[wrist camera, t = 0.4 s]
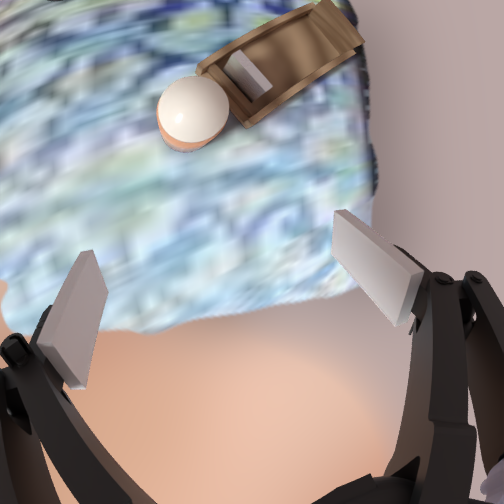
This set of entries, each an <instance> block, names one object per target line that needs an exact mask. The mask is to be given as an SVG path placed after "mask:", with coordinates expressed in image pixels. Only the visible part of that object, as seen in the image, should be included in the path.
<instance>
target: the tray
mask: <svg viewBox="0 0 504 504" xmlns="http://www.w3.org/2000/svg"><path fill="white" fill-rule="evenodd" d="M363 43H365V41H364V39H363V38H362V37H361V36H360V34H359V33H358V32H357V30H356V29H355V28H354V27H353V25H352V24H351V23H350V22H349V21H348V19H347V18H346V17H345V16H344V15H343V14H342V12H341V11H340V10H339V9H338V8H337V7H336V6H335V5H334V3H333V2H332V1H331V0H321V1H320V2H319V3H318V4H317V5H315V4H314V3H313V2H312V3H309V4H307V5H304V6H302V7H300V8H297V9H295V10H293V11H290V12H288V13H286V14H284V15H282V16H280V17H278V18H275V19H273V20H271V21H269V22H267V23H265V24H263V25H262V26H260V27H258V28H256V29H254V30H252V31H250V32H248V33H247V34H245V35H243V36H241V37H240V38H238V39H236V40H234V41H233V42H231V43H229V44H228V45H226V46H225V47H223V48H221V49H220V50H218V51H217V52H215V53H213V54H212V55H210V56H209V57H207V58H206V59H204V60H203V61H201V62H200V63H198V65H197V68H196V72H195V73H196V74H197V75H198V76H201V77H205V78H208V79H211V80H213V81H214V82H216V83H217V84H218V85H219V86H220V87H221V88H222V89H223V90H224V92H225V93H226V95H227V98H228V101H229V110H230V111H231V112H232V113H233V114H234V116H235V117H236V118H237V119H238V120H239V121H240V122H241V124H242V125H243V126H244V127H245V128H246V129H247V128H249V127H251V126H253V125H255V124H256V123H257V122H258V121H260V120H261V119H262V118H263V117H265V116H266V115H267V114H269V113H270V112H271V111H273V110H274V109H275V108H276V107H278V106H279V105H280V104H282V103H283V102H285V101H286V100H287V99H289V98H290V97H291V96H293V95H294V94H296V93H297V92H298V91H300V90H301V89H303V88H304V87H305V86H307V85H308V84H310V83H311V82H313V81H314V80H316V79H317V78H319V77H320V76H321V75H323V74H324V73H326V72H328V71H329V70H331V69H332V68H334V67H335V66H337V65H338V64H340V63H341V62H343V61H345V60H346V59H348V58H349V57H351V56H353V55H354V54H356V53H355V51H354V50H353V48H355V47H357V46H359V45H361V44H363ZM238 50H241V51H242V52H243V53H244V54H245V55H246V57H247V58H248V59H249V60H250V61H251V62H252V63H253V64H254V65H255V66H256V67H257V69H258V70H259V71H260V72H261V73H262V74H263V75H264V76H265V78H266V79H267V80H268V81H269V82H270V83H271V85H272V86H273V87H272V88H271V89H269V90H268V91H267V92H265V93H264V94H263V95H261V96H260V97H259V98H257V99H256V100H255V101H253V102H252V103H251V102H250V101H249V100H248V99H247V98H246V97H245V96H244V94H243V93H242V92H241V91H240V90H239V89H238V88H237V87H236V86H235V84H234V83H233V82H232V81H231V80H230V79H229V78H228V77H227V76H226V75H225V74H224V72H223V71H222V70H223V69H224V67H225V65H226V64H227V62H228V60H229V58H230V57H231V55H232V54H233V53H235V52H237V51H238Z"/></svg>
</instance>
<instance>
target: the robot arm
mask: <svg viewBox="0 0 504 504" xmlns="http://www.w3.org/2000/svg"><path fill="white" fill-rule="evenodd" d="M48 1H61V0H48ZM331 254H332V255H333V257H334V258H335V259H336V260H337V261H338V262H339V263H340V264H341V265H342V266H343V268H344V269H345V270H346V271H347V272H348V273H349V274H350V275H351V276H352V278H353V279H354V280H355V281H356V282H357V283H358V284H359V286H360V287H361V288H362V289H363V290H364V291H365V292H366V293H367V295H368V296H369V297H370V298H371V299H372V300H373V302H374V303H375V304H376V305H377V306H378V307H379V309H380V310H381V311H382V312H383V313H384V315H386V317H387V318H388V319H389V321H390V322H391V323H392V324H393V325H394V326H398V325H401V324H403V323H406V322H407V321H408V319H409V316H410V313H411V312H412V313H413V314H414V315H415V316H416V317H415V319H414V322H413V325H412V327H411V330H410V332H409V335H411V333H412V332H413V339H412V352H411V362H410V371H409V379H408V387H407V394H406V400H405V406H404V411H403V416H402V422H401V426H400V431H399V436H398V440H397V444H396V448H395V452H394V454H393V457H392V459H391V460H390V462H389V464H388V466H387V468H386V470H385V473H384V476H382V477H374V478H372V476H371V474H368V475H366V476H363V477H361V478H359V479H357V480H355V481H352V482H350V483H347V484H345V485H342V486H340V487H337V488H336V489H334V490H333V491H331V492H330V493H328V494H327V495H325V496H323V497H322V498H321V499H318V500H317V501H315V502H313V503H312V504H504V307H503V305H502V304H501V302H500V300H499V298H498V297H497V295H496V293H495V292H494V290H493V288H492V287H491V285H490V284H489V282H488V280H487V279H486V278H485V277H484V276H483V275H482V274H481V273H479V272H477V271H468V272H466V273H465V276H464V279H463V280H459V281H454V279H453V278H452V277H451V276H449V275H448V274H446V273H443V272H433V273H432V272H431V271H429V270H428V269H427V268H426V267H425V266H423V265H422V264H421V263H420V262H418V261H417V260H415V258H414V257H412V256H411V255H410V254H409V253H407V252H406V251H405V250H404V249H402V248H400V247H398V246H396V245H392V244H391V243H390V242H388V241H387V240H386V239H385V238H383V237H382V236H381V235H380V234H378V233H377V232H376V231H374V230H373V229H372V228H370V227H369V226H368V225H366V224H365V223H364V222H362V221H361V220H360V219H358V218H357V217H356V216H354V215H353V214H352V213H350V212H349V211H347V210H346V209H344V210H336V211H334V221H333V235H332V247H331ZM108 293H109V292H108V289H107V287H106V284H105V282H104V279H103V277H102V274H101V271H100V268H99V266H98V263H97V260H96V257H95V254H94V251H93V250H88V251H83V252H80V254H79V256H78V258H77V259H76V261H75V263H74V265H73V266H72V268H71V270H70V272H69V274H68V276H67V278H66V280H65V281H64V283H63V285H62V287H61V289H60V291H59V293H58V295H57V297H56V299H55V301H54V304H53V305H49V306H48V308H47V309H46V310H45V311H44V312H43V314H42V316H41V318H40V320H39V322H38V325H37V327H36V328H37V329H35V331H34V334H33V336H32V338H31V341H30V343H29V344H28V343H27V341H26V340H25V338H24V337H23V335H22V334H20V333H14V334H11V335H9V336H8V337H7V338H6V339H5V340H4V341H3V342H2V344H1V346H0V355H1V357H2V358H3V359H4V360H5V362H6V363H7V364H8V366H9V367H6V368H3V369H0V504H61V502H60V500H59V497H58V495H57V493H56V490H55V487H54V485H53V482H52V479H51V476H50V473H49V470H48V467H47V464H46V461H45V457H44V454H43V451H42V447H41V443H42V445H43V447H44V448H45V451H46V452H47V454H48V456H49V458H50V459H51V461H52V463H53V465H54V466H55V468H56V470H57V471H58V473H59V474H60V476H61V478H62V479H63V481H64V482H65V484H66V485H67V487H68V488H69V490H70V491H71V493H72V494H73V496H74V497H75V498H76V500H77V501H78V502H79V504H157V503H156V502H155V501H154V500H153V499H152V498H151V497H149V496H148V495H147V494H146V493H145V492H144V491H143V490H142V489H141V488H140V487H139V486H138V485H137V484H136V483H135V482H134V481H133V480H132V478H131V477H130V476H129V475H128V474H127V473H126V472H125V471H124V470H123V469H122V468H121V467H120V465H119V464H118V463H117V462H116V461H115V460H114V458H113V457H112V456H111V455H110V454H109V453H108V451H107V450H106V449H105V448H104V447H103V445H102V444H101V443H100V441H99V440H98V439H97V437H96V436H95V435H94V434H93V432H92V431H91V430H90V428H89V427H88V425H87V424H86V423H85V421H84V420H83V418H82V417H81V415H80V414H79V412H78V411H77V409H76V408H75V406H74V405H73V403H72V402H71V400H70V398H69V397H68V395H67V394H66V392H65V391H64V390H63V389H62V387H63V383H64V382H65V383H66V384H67V385H68V386H69V388H70V389H86V385H87V380H88V374H89V369H90V364H91V359H92V355H93V350H94V346H95V341H96V337H97V333H98V329H99V325H100V321H101V317H102V314H103V310H104V306H105V303H106V299H107V296H108ZM475 312H476V321H474V319H473V316H474V314H475ZM468 387H469V391H470V395H471V399H472V404H473V408H474V413H475V418H476V424H477V429H478V435H479V442H480V449H481V455H482V461H483V464H484V468H485V472H486V474H487V479H486V480H484V481H483V483H482V484H481V489H480V490H481V493H482V494H486V495H487V497H486V500H485V502H484V501H479V500H475V499H470V498H469V493H470V489H471V483H472V477H473V470H474V462H475V453H476V441H477V432H476V428H475V427H474V426H472V425H469V424H468ZM40 441H41V443H40Z"/></svg>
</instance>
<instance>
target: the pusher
mask: <svg viewBox="0 0 504 504" xmlns="http://www.w3.org/2000/svg"><path fill="white" fill-rule="evenodd" d="M222 71H223V72H224V74H225V75H226V76H227V77H228V78H229V79H230V80H231V81H232V82H233V83H234V84H235V86H236V87H237V88H238V89H239V90H240V91H241V92H242V93H243V94H244V96H245V97H246V98H247V99H248V100H249V101H250V102H251V103H252V102H253V101H255V100H256V99H257V98H259V97H260V96H261V95H263V94H264V93H265V92H267V91H268V90H269V89H271V88H272V87H273V86H272V85H271V83H270V82H269V81H268V80H267V79H266V78H265V76H264V75H263V74H262V73H261V72H260V71H259V70H258V69H257V67H256V66H255V65H254V64H253V63H252V62H251V61H250V60H249V59H248V58H247V57H246V55H245V54H244V53H243V52H242V51H241V50H238V51H237V52H235V53H233V54H232V55H231V57H230V58H229V60H228V62H227V64H226V65H225V67H224V69H223V70H222Z"/></svg>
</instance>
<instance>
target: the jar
mask: <svg viewBox="0 0 504 504" xmlns="http://www.w3.org/2000/svg"><path fill="white" fill-rule="evenodd" d="M228 114H229V101H228V98H227V95H226V93H225V92H224V90H223V89H222V88H221V87H220V86H219V85H218V84H217V83H216V82H214V81H213V80H211V79H208V78H205V77H201V76H189V77H184V78H181V79H179V80H177V81H175V82H174V83H172V84H171V85H170V86H169V87H168V88H167V89H166V90H165V91H164V93H163V94H162V96H161V98H160V100H159V102H158V105H157V120H158V124H159V128H160V132H161V135H162V138H163V140H164V142H165V143H166V144H167V145H168V146H169V147H170V148H171V149H173V150H175V151H178V152H183V153H189V152H193V151H196V150H198V149H200V148H202V147H203V146H204V145H206V144H207V143H208V142H209V141H211V140H212V139H213V138H215V137H216V136H217V135H218V134H219V133H220V132H221V131H222V129H223V128H224V126H225V124H226V122H227V119H228Z"/></svg>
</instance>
